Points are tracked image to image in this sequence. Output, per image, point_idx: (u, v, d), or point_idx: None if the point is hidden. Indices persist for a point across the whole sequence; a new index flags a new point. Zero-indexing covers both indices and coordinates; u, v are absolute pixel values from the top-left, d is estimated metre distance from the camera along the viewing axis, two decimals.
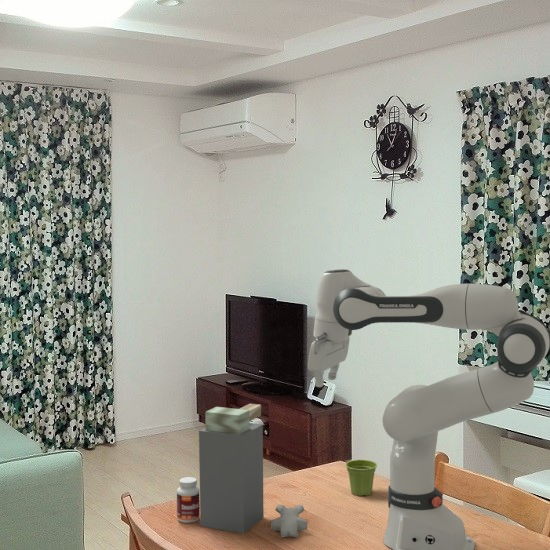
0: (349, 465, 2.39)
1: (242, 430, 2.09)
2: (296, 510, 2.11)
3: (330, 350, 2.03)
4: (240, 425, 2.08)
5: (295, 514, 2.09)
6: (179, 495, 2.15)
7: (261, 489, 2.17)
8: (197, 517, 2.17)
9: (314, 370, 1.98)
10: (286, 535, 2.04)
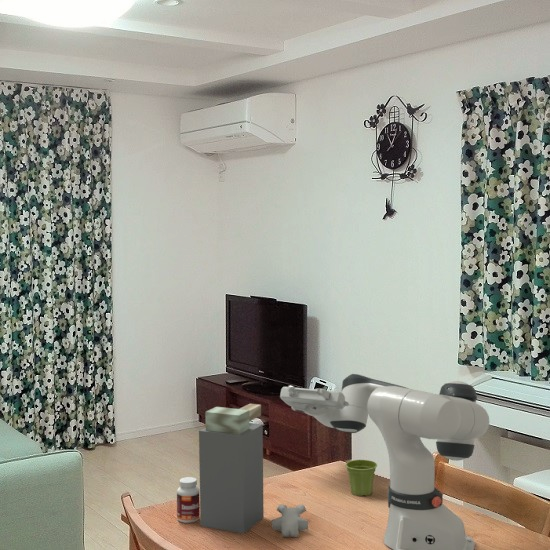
0: (349, 465, 2.39)
1: (242, 430, 2.09)
2: (297, 510, 2.11)
3: (323, 404, 2.46)
4: (240, 425, 2.08)
5: (296, 514, 2.09)
6: (179, 495, 2.15)
7: (261, 489, 2.17)
8: (197, 517, 2.17)
9: (340, 398, 2.40)
10: (287, 535, 2.04)
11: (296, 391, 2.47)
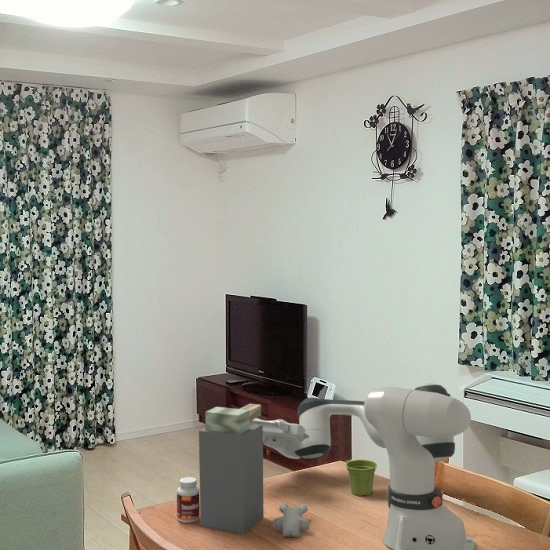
0: (349, 465, 2.39)
1: (242, 430, 2.09)
2: (299, 510, 2.11)
3: (282, 436, 2.39)
4: (240, 425, 2.08)
5: (297, 514, 2.09)
6: (179, 495, 2.15)
7: (261, 489, 2.17)
8: (197, 517, 2.17)
9: (299, 431, 2.33)
10: (287, 535, 2.04)
11: (255, 423, 2.39)
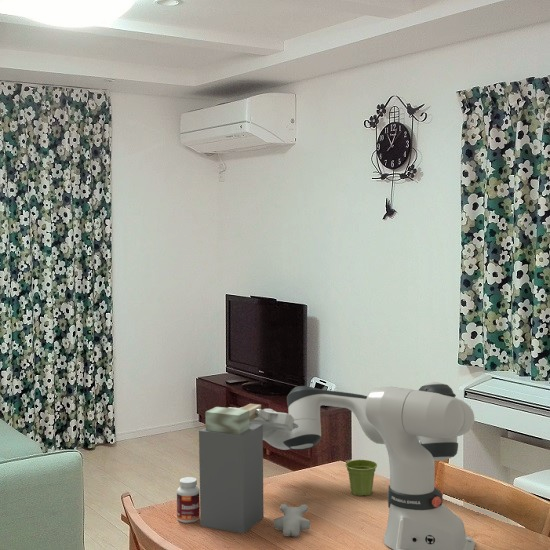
0: (349, 465, 2.39)
1: (242, 430, 2.09)
2: (299, 510, 2.11)
3: (270, 426, 2.30)
4: (240, 425, 2.08)
5: (298, 513, 2.09)
6: (179, 495, 2.15)
7: (261, 489, 2.17)
8: (197, 517, 2.17)
9: (288, 420, 2.24)
10: (288, 534, 2.04)
11: None
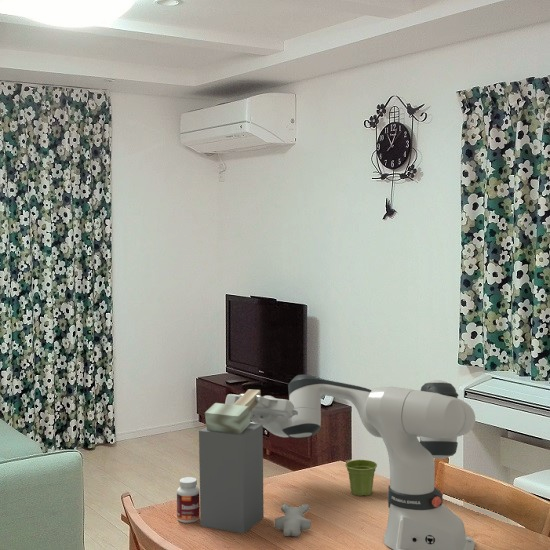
0: (349, 465, 2.39)
1: (243, 428, 2.09)
2: (300, 509, 2.11)
3: (270, 413, 2.29)
4: (240, 424, 2.08)
5: (299, 513, 2.10)
6: (179, 495, 2.15)
7: (261, 489, 2.17)
8: (197, 517, 2.17)
9: (287, 406, 2.24)
10: (288, 534, 2.04)
11: None
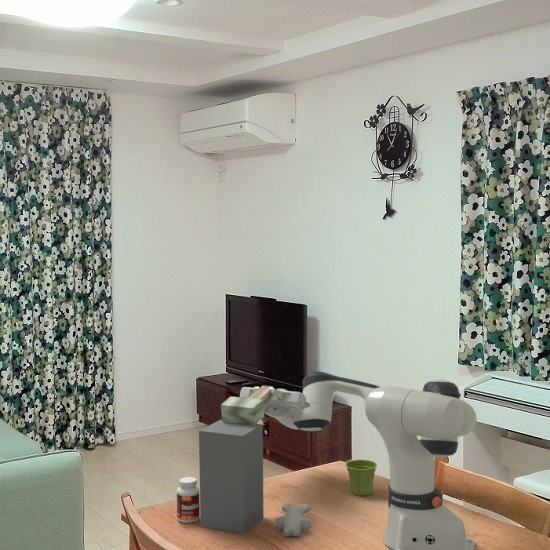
0: (349, 465, 2.39)
1: (257, 420, 2.17)
2: (301, 509, 2.11)
3: (283, 405, 2.38)
4: (255, 416, 2.16)
5: (299, 513, 2.10)
6: (179, 495, 2.15)
7: (261, 489, 2.17)
8: (197, 517, 2.17)
9: (300, 398, 2.32)
10: (289, 534, 2.04)
11: None
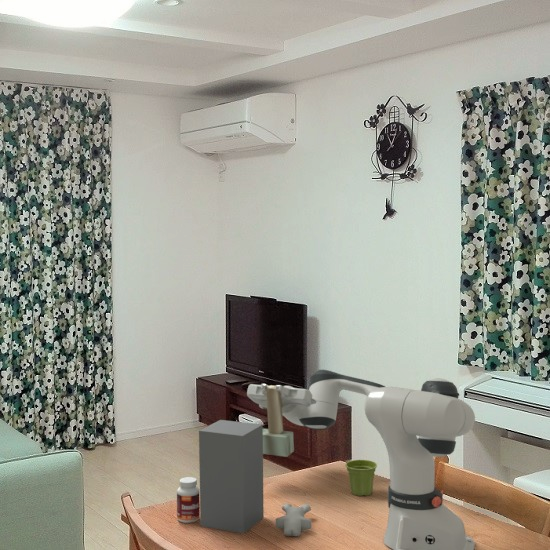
0: (349, 465, 2.39)
1: (293, 445, 2.40)
2: (301, 509, 2.11)
3: (290, 402, 2.43)
4: (290, 451, 2.39)
5: (299, 513, 2.10)
6: (179, 495, 2.15)
7: (261, 489, 2.17)
8: (197, 517, 2.17)
9: (306, 395, 2.37)
10: (289, 534, 2.04)
11: None
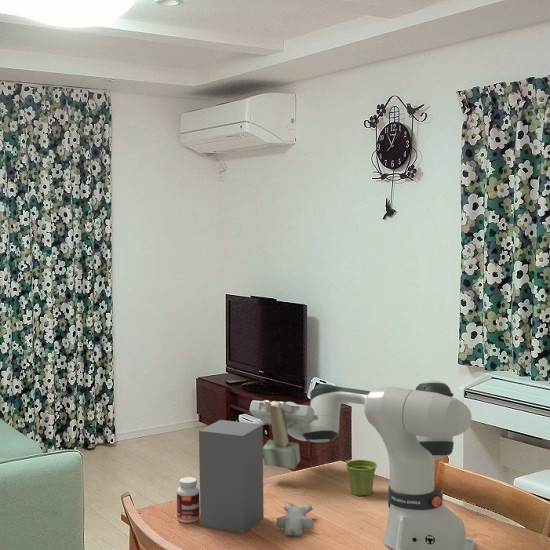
0: (349, 465, 2.39)
1: (299, 455, 2.45)
2: (302, 509, 2.12)
3: None
4: (297, 461, 2.44)
5: (301, 513, 2.10)
6: (179, 495, 2.15)
7: (261, 489, 2.17)
8: (197, 517, 2.17)
9: (309, 412, 2.39)
10: (290, 533, 2.05)
11: None
